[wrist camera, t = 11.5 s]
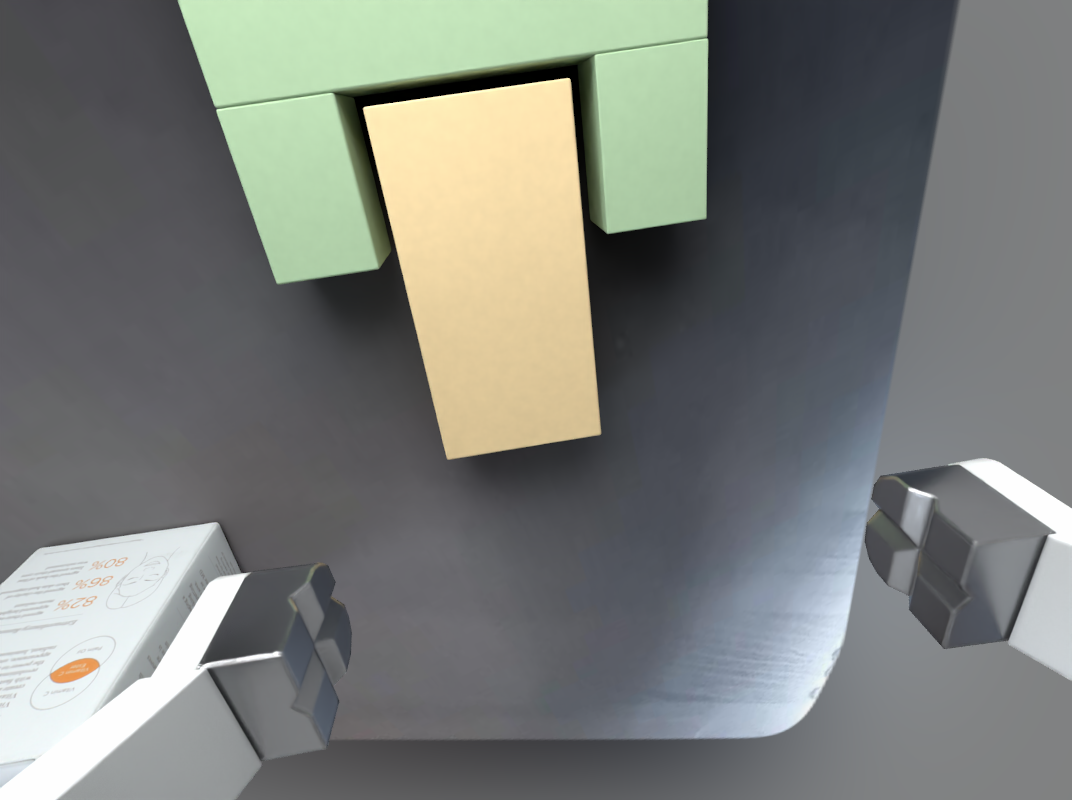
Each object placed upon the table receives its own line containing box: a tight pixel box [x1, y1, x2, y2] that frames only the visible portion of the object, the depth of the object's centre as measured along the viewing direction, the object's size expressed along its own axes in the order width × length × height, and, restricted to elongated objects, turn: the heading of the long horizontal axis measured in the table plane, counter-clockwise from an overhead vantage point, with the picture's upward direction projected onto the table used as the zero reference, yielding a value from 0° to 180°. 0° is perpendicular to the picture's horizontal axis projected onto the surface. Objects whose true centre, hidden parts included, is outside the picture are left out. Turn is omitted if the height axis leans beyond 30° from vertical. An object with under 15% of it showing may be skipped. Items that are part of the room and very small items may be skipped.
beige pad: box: [363, 78, 601, 460], centre depth 20 cm, size 6×12×3 cm, turn 7°
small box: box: [0, 522, 242, 788], centre depth 21 cm, size 8×6×10 cm
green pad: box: [178, 0, 708, 285], centre depth 16 cm, size 14×12×3 cm
